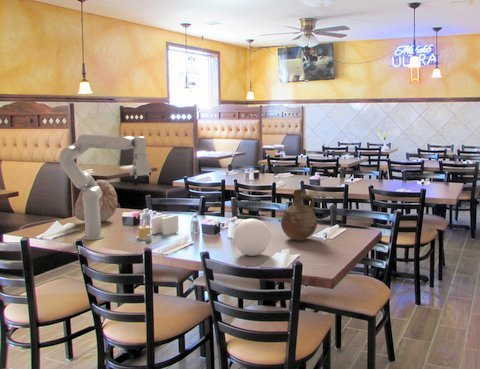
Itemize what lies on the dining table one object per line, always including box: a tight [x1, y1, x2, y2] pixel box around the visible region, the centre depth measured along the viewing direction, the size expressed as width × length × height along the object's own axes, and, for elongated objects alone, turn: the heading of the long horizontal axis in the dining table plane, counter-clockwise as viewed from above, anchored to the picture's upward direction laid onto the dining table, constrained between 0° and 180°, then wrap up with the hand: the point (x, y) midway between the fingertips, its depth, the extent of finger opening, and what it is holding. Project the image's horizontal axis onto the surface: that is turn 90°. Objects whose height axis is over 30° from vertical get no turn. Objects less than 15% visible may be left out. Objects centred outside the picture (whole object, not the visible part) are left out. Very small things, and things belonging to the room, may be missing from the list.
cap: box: [138, 225, 151, 238], centre depth 315 cm, size 6×6×7 cm
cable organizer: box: [150, 213, 179, 236], centre depth 328 cm, size 15×11×12 cm
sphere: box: [232, 218, 271, 257], centre depth 276 cm, size 20×20×20 cm
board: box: [124, 234, 170, 246], centre depth 310 cm, size 22×18×5 cm
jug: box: [280, 189, 318, 242], centre depth 308 cm, size 22×22×30 cm
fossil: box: [74, 179, 119, 223], centre depth 363 cm, size 31×26×30 cm
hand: (141, 184), depth 318 cm, fingers open, 9 cm apart
